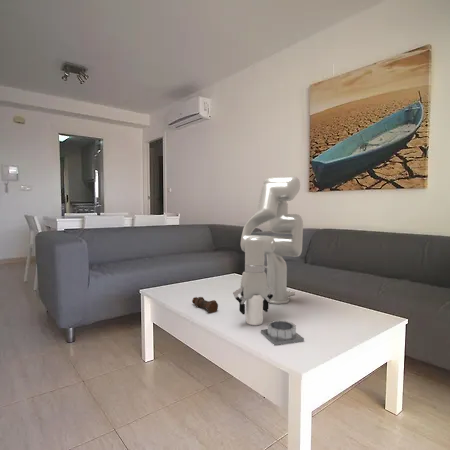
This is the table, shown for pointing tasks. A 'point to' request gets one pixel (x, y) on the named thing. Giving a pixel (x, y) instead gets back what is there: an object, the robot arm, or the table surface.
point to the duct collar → (281, 333)
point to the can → (254, 310)
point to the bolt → (206, 304)
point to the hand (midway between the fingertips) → (254, 312)
